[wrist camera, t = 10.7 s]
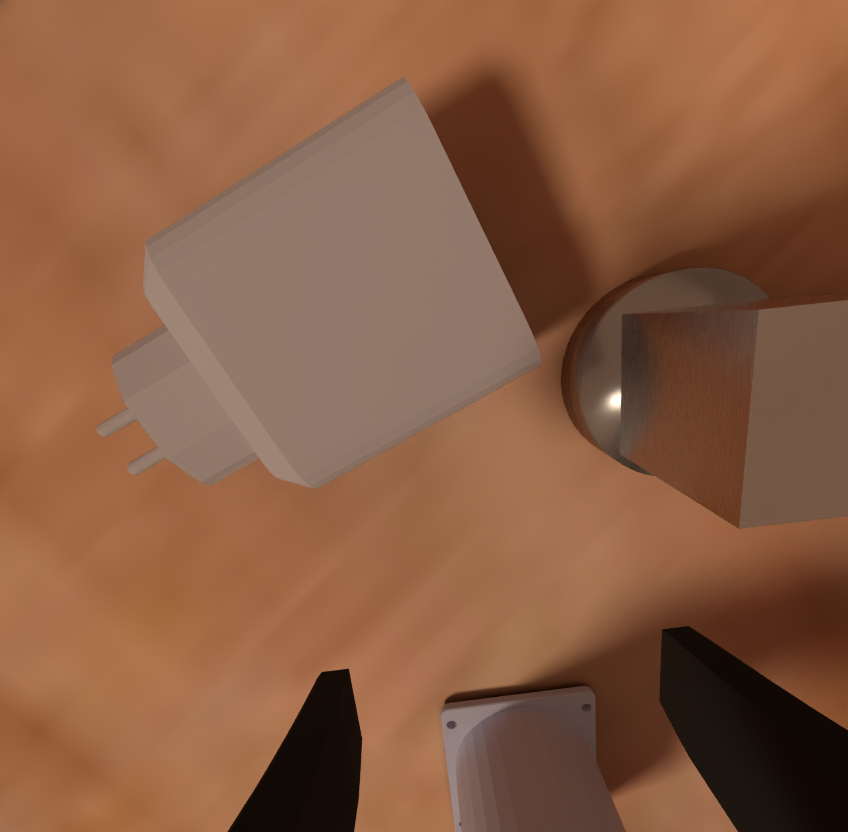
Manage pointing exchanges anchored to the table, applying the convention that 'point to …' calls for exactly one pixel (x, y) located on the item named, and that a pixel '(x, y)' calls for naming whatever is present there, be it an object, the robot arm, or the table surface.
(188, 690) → the table surface
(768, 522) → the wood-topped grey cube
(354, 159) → the charger
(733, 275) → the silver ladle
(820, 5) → the table surface
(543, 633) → the table surface
